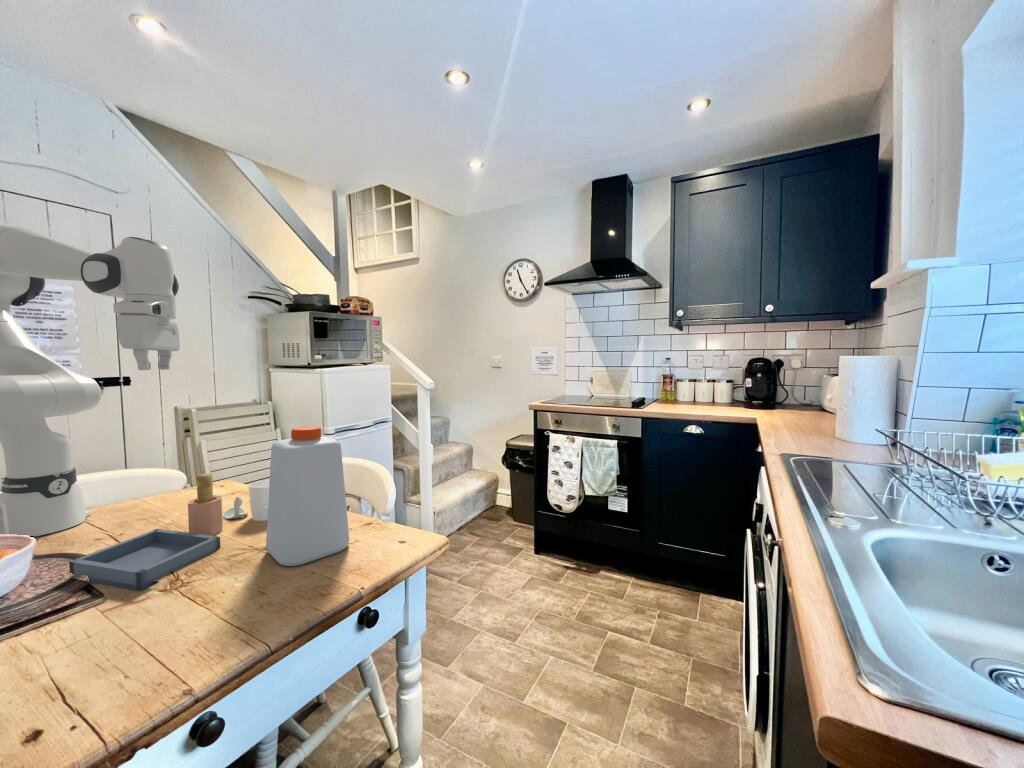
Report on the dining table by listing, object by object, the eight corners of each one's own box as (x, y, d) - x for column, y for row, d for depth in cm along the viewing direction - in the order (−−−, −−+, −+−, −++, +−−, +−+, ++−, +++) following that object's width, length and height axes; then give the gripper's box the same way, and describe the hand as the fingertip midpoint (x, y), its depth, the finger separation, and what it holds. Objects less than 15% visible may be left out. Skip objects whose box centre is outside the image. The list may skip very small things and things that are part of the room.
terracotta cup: (182, 539, 97) (181, 503, 96) (208, 529, 103) (207, 494, 102) (204, 542, 95) (203, 505, 95) (229, 531, 101) (228, 496, 101)
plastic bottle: (261, 549, 92) (257, 427, 91) (328, 529, 103) (326, 420, 102) (284, 573, 82) (280, 436, 80) (356, 548, 93) (354, 428, 91)
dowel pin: (195, 533, 98) (193, 476, 97) (207, 528, 101) (205, 473, 100) (205, 534, 97) (203, 477, 96) (217, 529, 100) (215, 474, 99)
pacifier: (223, 528, 104) (250, 520, 109) (221, 504, 104) (248, 498, 108) (216, 520, 109) (241, 513, 113) (214, 498, 108) (240, 492, 113)
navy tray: (70, 579, 79) (69, 561, 79) (157, 543, 95) (157, 528, 94) (141, 591, 75) (140, 573, 75) (220, 552, 91) (220, 536, 90)
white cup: (267, 526, 105) (266, 488, 104) (242, 524, 106) (241, 486, 106) (290, 515, 112) (289, 480, 112) (266, 513, 114) (265, 478, 113)
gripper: (155, 315, 102) (158, 369, 103) (107, 303, 83) (112, 370, 84) (185, 315, 104) (189, 369, 105) (146, 304, 85) (150, 370, 86)
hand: (154, 369), depth 94 cm, fingers open, 8 cm apart
